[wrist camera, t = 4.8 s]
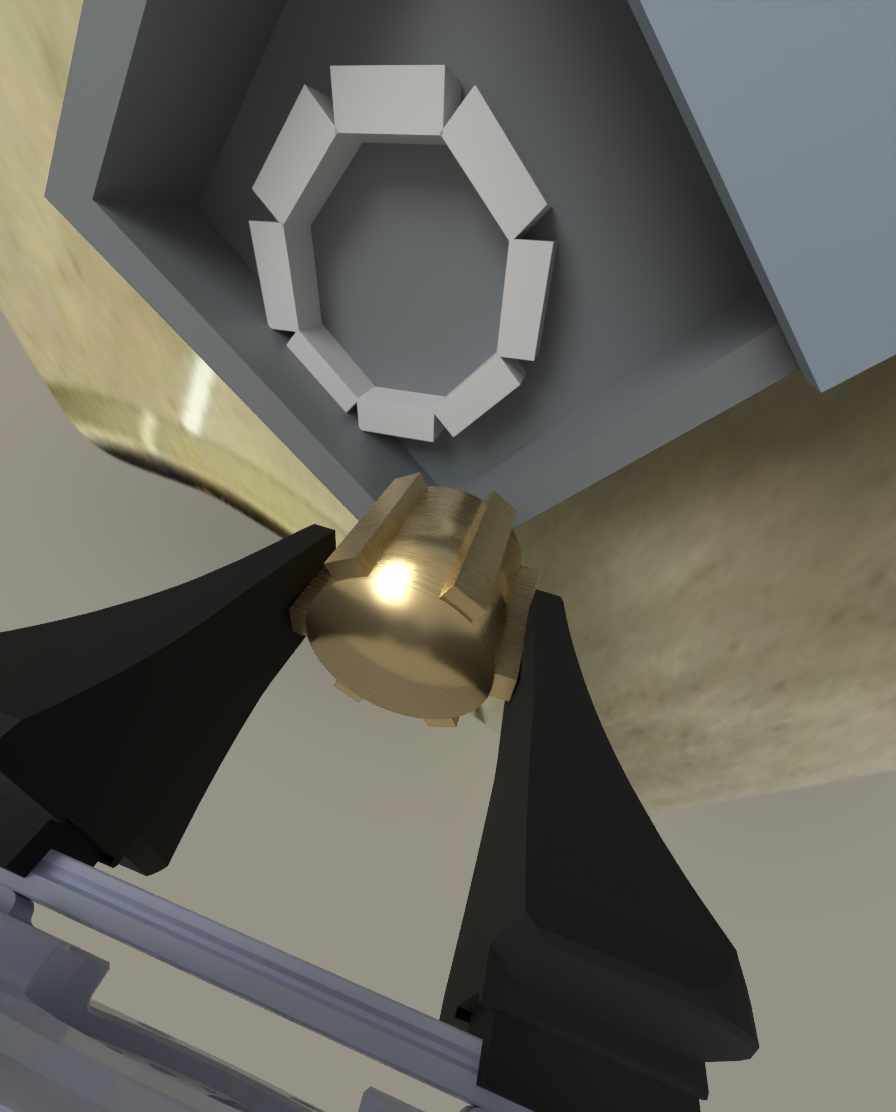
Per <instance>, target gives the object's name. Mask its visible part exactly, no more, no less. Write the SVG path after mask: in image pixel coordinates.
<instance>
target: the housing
mask: <svg viewBox="0 0 896 1112" xmlns="http://www.w3.org/2000/svg"><path fill="white" fill-rule="evenodd" d="M45 197H46V198H47V200H48V201H49V202H50V203H51V204H52V205H53V206H54V207H55V208H56V209H57V210H58V211H59V212H60V213H61V214H62V215H63V216H64V217H65V218H66V219H67V220H68V221H69V222H70V223H71V224H72V225H73V226H74V227H75V228H76V229H77V230H78V232H79V233H80V234H81V235H82V236H83V237H84V238H85V239H86V240H87V241H88V242H89V243H90V244H91V245H92V246H93V247H94V248H95V249H96V250H97V251H98V252H99V253H100V254H101V255H102V256H103V257H104V258H105V259H106V260H107V261H108V262H109V263H110V265H111V266H112V267H113V268H114V269H115V270H116V271H117V272H118V273H119V274H120V275H121V276H122V277H123V278H124V279H125V280H126V281H127V282H128V283H129V284H130V285H131V286H132V287H133V288H134V289H135V290H136V291H137V292H138V293H139V294H140V295H141V297H142V298H143V299H144V300H145V301H146V302H147V303H148V304H149V305H150V306H151V307H152V308H153V309H154V310H155V311H156V312H157V313H158V314H159V315H160V316H161V317H162V318H163V319H164V320H165V321H166V322H167V323H168V324H169V325H170V326H171V327H172V329H173V330H174V331H175V332H176V333H177V334H178V335H179V336H180V337H181V338H182V339H183V340H184V341H185V342H186V343H187V344H188V345H189V346H190V347H191V348H192V349H193V350H194V351H195V352H196V353H197V354H198V355H199V356H200V357H201V358H202V359H203V360H204V362H205V363H206V364H207V365H208V366H209V367H210V368H211V369H212V370H213V371H214V372H215V373H216V374H217V375H218V376H219V377H220V378H221V379H222V380H223V381H224V382H225V383H226V384H227V385H228V386H229V387H230V388H231V389H232V390H233V391H234V392H235V394H236V395H237V396H238V397H239V398H240V399H241V400H242V401H243V402H244V403H245V404H246V405H247V406H248V407H249V408H250V409H251V410H252V411H253V412H254V413H255V414H256V415H257V416H258V417H259V418H260V419H261V420H262V421H263V422H264V423H265V424H266V425H267V427H268V428H269V429H270V430H271V431H272V432H273V433H274V434H275V435H276V436H277V437H278V438H279V439H280V440H281V441H282V442H283V443H284V444H285V445H286V446H287V447H288V448H289V449H290V450H291V451H292V452H293V453H294V454H295V455H296V456H297V457H298V459H299V460H300V461H301V462H302V463H303V464H304V465H305V466H306V467H307V468H308V469H309V470H310V471H311V472H312V473H313V474H314V475H315V476H316V477H317V478H318V479H319V480H320V481H321V482H322V483H323V484H324V485H325V486H326V487H327V488H328V489H329V491H330V492H331V493H332V494H333V495H334V496H335V497H336V498H337V499H338V500H339V501H340V502H341V503H342V504H343V505H344V506H345V507H346V508H347V509H348V510H349V511H350V512H351V513H352V514H353V515H354V516H355V517H356V518H357V519H358V520H359V521H360V520H361V518H362V517H363V516H364V515H365V514H366V513H367V511H368V510H369V509H370V508H371V507H372V505H373V504H374V503H375V502H376V501H377V500H378V498H379V497H380V496H381V495H382V494H383V492H384V491H385V490H386V489H387V488H388V486H389V485H390V484H391V483H392V482H393V481H394V479H396V478H400V477H404V476H407V475H411V474H414V473H418V472H421V474H422V476H423V478H424V481H425V483H426V485H427V487H432V486H438V487H448V488H453V489H457V490H461V491H464V492H467V493H469V494H471V495H473V496H476V497H478V498H479V499H481V500H484V499H485V498H486V497H487V496H488V495H489V494H490V493H491V492H492V491H495V492H496V493H498V494H499V495H500V496H501V497H502V498H503V499H504V500H506V501H507V502H508V503H509V504H510V505H511V506H513V507H514V508H515V509H516V510H517V512H516V516H515V519H514V522H513V525H512V529H513V528H515V527H517V526H519V525H521V524H522V523H524V522H526V521H528V520H530V519H531V518H533V517H535V516H537V515H539V514H540V513H542V512H544V511H546V510H548V509H549V508H551V507H553V506H555V505H557V504H558V503H560V502H562V501H564V500H566V499H567V498H569V497H571V496H573V495H575V494H576V493H578V492H580V491H582V490H584V489H585V488H587V487H589V486H591V485H593V484H594V483H596V482H598V481H600V480H602V479H603V478H605V477H607V476H609V475H611V474H612V473H614V472H616V471H618V470H619V469H621V468H623V467H625V466H627V465H628V464H630V463H632V462H634V461H636V460H637V459H639V458H641V457H643V456H645V455H646V454H648V453H650V452H652V451H654V450H655V449H657V448H659V447H661V446H663V445H664V444H666V443H668V442H670V441H672V440H673V439H675V438H677V437H679V436H681V435H682V434H684V433H686V432H688V431H690V430H691V429H693V428H695V427H697V426H699V425H700V424H702V423H704V422H706V421H708V420H709V419H711V418H713V417H715V416H717V415H718V414H720V413H722V412H724V411H725V410H727V409H729V408H731V407H733V406H734V405H736V404H738V403H740V402H742V401H743V400H745V399H747V398H749V397H751V396H752V395H754V394H756V393H758V392H760V391H761V390H763V389H765V388H767V387H769V386H770V385H772V384H774V383H776V382H778V381H779V380H781V379H783V378H785V377H787V376H788V375H790V374H792V373H794V372H796V371H797V370H799V369H800V367H799V365H798V363H797V361H796V358H795V356H794V354H793V352H792V350H791V348H790V346H789V344H788V341H787V339H786V337H785V335H784V333H783V331H782V329H781V327H780V324H779V322H778V320H777V318H776V316H775V314H774V312H773V310H772V307H771V305H770V303H769V301H768V299H767V297H766V295H765V292H764V290H763V288H762V286H761V284H760V282H759V280H758V278H757V275H756V273H755V271H754V269H753V267H752V265H751V263H750V261H749V258H748V256H747V254H746V252H745V250H744V248H743V246H742V244H741V241H740V239H739V237H738V235H737V233H736V231H735V229H734V226H733V224H732V222H731V220H730V218H729V216H728V214H727V212H726V209H725V207H724V205H723V203H722V201H721V199H720V197H719V195H718V192H717V190H716V188H715V186H714V184H713V182H712V180H711V178H710V175H709V173H708V171H707V169H706V167H705V165H704V163H703V160H702V158H701V156H700V154H699V152H698V150H697V148H696V146H695V143H694V141H693V139H692V137H691V135H690V133H689V131H688V129H687V126H686V124H685V122H684V120H683V118H682V116H681V114H680V112H679V109H678V107H677V105H676V103H675V101H674V99H673V97H672V94H671V92H670V90H669V88H668V86H667V84H666V82H665V80H664V77H663V75H662V73H661V71H660V69H659V67H658V65H657V63H656V60H655V58H654V56H653V54H652V52H651V50H650V48H649V46H648V43H647V41H646V39H645V37H644V35H643V33H642V31H641V28H640V26H639V24H638V22H637V20H636V18H635V16H634V14H633V11H632V9H631V7H630V5H629V3H628V1H627V0H84V1H83V6H82V11H81V16H80V21H79V26H78V31H77V36H76V41H75V46H74V51H73V56H72V61H71V66H70V71H69V76H68V81H67V86H66V91H65V96H64V101H63V106H62V111H61V116H60V121H59V126H58V131H57V136H56V141H55V146H54V151H53V156H52V161H51V166H50V171H49V176H48V181H47V186H46V191H45Z"/></svg>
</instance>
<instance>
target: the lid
mask: <svg viewBox="0 0 896 1112" xmlns="http://www.w3.org/2000/svg"><path fill="white" fill-rule="evenodd" d="M627 1H628V3H629V5H630V7H631V9H632V11H633V14H634V16H635V18H636V20H637V22H638V24H639V26H640V28H641V31H642V33H643V35H644V37H645V39H646V41H647V43H648V46H649V48H650V50H651V52H652V54H653V56H654V58H655V60H656V63H657V65H658V67H659V69H660V71H661V73H662V75H663V77H664V80H665V82H666V84H667V86H668V88H669V90H670V92H671V94H672V97H673V99H674V101H675V103H676V105H677V107H678V109H679V112H680V114H681V116H682V118H683V120H684V122H685V124H686V126H687V129H688V131H689V133H690V135H691V137H692V139H693V141H694V143H695V146H696V148H697V150H698V152H699V154H700V156H701V158H702V160H703V163H704V165H705V167H706V169H707V171H708V173H709V175H710V178H711V180H712V182H713V184H714V186H715V188H716V190H717V192H718V195H719V197H720V199H721V201H722V203H723V205H724V207H725V209H726V212H727V214H728V216H729V218H730V220H731V222H732V224H733V226H734V229H735V231H736V233H737V235H738V237H739V239H740V241H741V244H742V246H743V248H744V250H745V252H746V254H747V256H748V258H749V261H750V263H751V265H752V267H753V269H754V271H755V273H756V275H757V278H758V280H759V282H760V284H761V286H762V288H763V290H764V292H765V295H766V297H767V299H768V301H769V303H770V305H771V307H772V310H773V312H774V314H775V316H776V318H777V320H778V322H779V324H780V327H781V329H782V331H783V333H784V335H785V337H786V339H787V341H788V344H789V346H790V348H791V350H792V352H793V354H794V356H795V358H796V361H797V363H798V365H799V367H800V369H801V371H802V373H803V375H804V378H805V380H806V382H807V383H808V384H809V385H811V386H812V387H814V388H815V389H816V390H818V391H819V392H820V393H822V392H824V391H826V390H828V389H830V388H832V387H834V386H836V385H838V384H840V383H842V382H843V381H845V380H847V379H849V378H851V377H853V376H855V375H857V374H859V373H861V372H863V371H865V370H867V369H869V368H871V367H872V366H874V365H876V364H878V363H880V362H882V361H884V360H886V359H888V358H890V357H892V356H894V355H896V0H627Z"/></svg>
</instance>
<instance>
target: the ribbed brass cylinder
mask: <svg viewBox="0 0 896 1112" xmlns="http://www.w3.org/2000/svg"><path fill="white" fill-rule="evenodd" d="M516 512H517V510H516V509H515V508H514V507H513V506H511V505H510V504H509V503H508V502H507V501H506V500H504V499H503V498H502V497H501V496H500V495H499V494H498V493H496V492H495V491H492V492H491V493H490V494H489V495H488V496H487V497H486V498H485V499H484V500H481V499H479V498H478V497H476V496H473V495H471V494H469V493H467V492H464V491H461V490H457V489H453V488H448V487H438V486H432V487H427V485H426V483H425V481H424V478H423V476H422V474H421V472H418V473H414V474H411V475H407V476H404V477H400V478H396V479H394V481H393V482H392V483H391V484H390V485H389V486H388V488H387V489H386V490H385V491H384V492H383V494H382V495H381V496H380V497H379V498H378V500H377V501H376V502H375V503H374V504H373V505H372V507H371V508H370V509H369V510H368V511H367V513H366V514H365V515H364V516H363V517H362V518H361V520H360V521H359V522H358V523H357V524H356V526H355V527H354V528H353V529H352V530H351V532H350V533H349V534H348V535H347V536H346V537H345V539H344V540H343V541H342V542H341V543H340V545H339V546H338V547H337V548H336V549H335V551H334V552H333V553H332V554H331V555H330V556H329V558H328V559H327V560H326V561H325V562H324V565H325V566H324V567H323V569H322V570H321V571H320V572H319V573H318V575H317V576H316V577H315V578H314V579H313V580H312V581H311V583H310V584H309V585H308V586H307V587H306V589H305V590H304V591H303V592H302V593H301V595H300V596H299V597H298V598H297V599H296V601H295V602H294V603H293V604H292V605H291V607H290V608H289V612H290V619H291V625H292V631H293V632H295V633H298V634H301V635H304V636H307V637H308V639H309V641H310V644H311V647H312V649H313V650H314V653H315V654H316V656H317V657H318V659H319V660H320V662H321V663H322V664H323V665H324V667H325V668H326V669H327V670H328V671H329V672H330V673H331V674H332V675H333V676H334V677H335V678H336V679H337V681H336V682H335V684H334V686H335V687H336V688H338V689H339V690H341V691H342V692H344V693H345V694H347V695H348V696H349V697H351V698H352V699H354V700H355V701H357V702H360V701H361V700H362V699H365V700H367V701H369V702H371V703H373V704H375V705H377V706H379V707H381V708H384V709H387V710H389V711H392V712H395V713H399V714H402V715H406V716H410V717H416V718H423V719H424V720H425V722H426V723H427V725H428V726H430V727H431V726H432V727H456V726H457V723H458V719H459V716H462V715H464V714H467V713H469V712H471V711H473V710H475V709H476V708H478V707H479V706H480V705H481V704H482V703H483V702H484V701H485V700H486V699H487V697H488V696H489V695H490V696H493V697H496V698H499V699H502V700H505V701H508V702H509V700H510V698H511V695H512V692H513V690H514V687H515V685H516V682H517V678H518V673H519V667H520V662H521V657H522V652H523V640H524V633H525V628H526V622H527V617H528V612H529V607H530V605H531V602H532V599H533V593H534V588H535V583H536V578H537V572H538V570H535V569H531V568H527V567H524V566H521V552H520V547H519V544H518V541H517V538H516V536H515V534H514V532H513V530H512V525H513V522H514V519H515V516H516Z"/></svg>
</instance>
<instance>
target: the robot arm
mask: <svg viewBox="0 0 896 1112" xmlns="http://www.w3.org/2000/svg"><path fill="white" fill-rule="evenodd" d="M335 549H336V539H335V530H333V529H329V528H326V527H322V526H319V525H316V524H313V525H311V526H309V527H306V528H304V529H302V530H300V531H298V532H296V533H294V534H292V535H290V536H288V537H286V538H284V539H282V540H280V541H278V542H276V543H274V544H272V545H270V546H268V547H266V548H263V549H261V550H259V551H257V552H255V553H253V554H251V555H249V556H247V557H245V558H243V559H240V560H238V561H236V562H234V563H231V564H229V565H227V566H224V567H222V568H220V569H217V570H215V571H213V572H211V573H208V574H206V575H204V576H201V577H199V578H196V579H194V580H191V581H189V582H186V583H183V584H181V585H178V586H175V587H173V588H170V589H167V590H164V591H161V592H158V593H155V594H152V595H149V596H146V597H143V598H140V599H137V600H133V601H129V602H126V603H123V604H119V605H116V606H112V607H109V608H105V609H102V610H98V611H95V612H91V613H87V614H83V615H79V616H75V617H71V618H67V619H63V620H58V621H54V622H50V623H45V624H40V625H36V626H31V627H26V628H21V629H17V630H11V631H6V632H0V1112H325V1111H323V1110H321V1109H319V1108H317V1107H315V1106H313V1105H311V1104H309V1103H307V1102H305V1101H304V1100H302V1099H299V1098H298V1097H296V1096H294V1095H292V1094H290V1093H288V1092H286V1091H284V1090H282V1089H280V1088H278V1087H276V1086H274V1085H272V1084H271V1083H269V1082H266V1081H265V1080H262V1079H261V1078H258V1077H257V1076H254V1075H252V1074H251V1073H249V1072H246V1071H244V1070H242V1069H240V1068H238V1067H236V1066H234V1065H232V1064H230V1063H228V1062H226V1061H224V1060H222V1059H220V1058H217V1057H215V1056H213V1055H211V1054H209V1053H207V1052H205V1051H203V1050H201V1049H198V1048H196V1047H194V1046H192V1045H190V1044H188V1043H186V1042H184V1041H181V1040H179V1039H177V1038H175V1037H173V1036H170V1035H168V1034H166V1033H164V1032H162V1031H160V1030H158V1029H155V1028H153V1027H151V1026H149V1025H147V1024H145V1023H142V1022H140V1021H138V1020H136V1019H134V1018H132V1017H129V1016H127V1015H125V1014H123V1013H121V1012H119V1011H116V1010H114V1009H112V1008H110V1007H108V1006H105V1005H103V1004H101V1003H99V1002H97V1001H95V1000H93V999H91V997H92V995H93V993H94V992H95V990H96V988H97V987H98V985H99V984H100V983H101V981H102V979H103V978H104V977H105V975H106V973H107V972H108V970H109V969H110V965H109V964H110V963H109V962H107V961H105V960H103V959H101V958H99V957H97V956H95V955H93V954H91V953H89V952H87V951H85V950H83V949H80V948H78V947H76V946H74V945H72V944H70V943H68V942H65V941H63V940H61V939H59V938H57V937H55V936H53V935H51V934H48V933H46V932H44V931H42V930H40V929H38V928H35V927H34V926H33V925H32V923H31V917H32V914H33V912H34V903H33V902H32V901H34V902H36V903H38V904H40V905H42V906H44V907H47V908H49V909H51V910H53V911H56V912H57V913H59V914H62V915H64V916H66V917H68V918H70V919H72V920H75V921H77V922H79V923H81V924H83V925H85V926H88V927H90V928H92V929H94V930H96V931H98V932H100V933H103V934H105V935H107V936H109V937H111V938H113V939H115V940H118V941H120V942H122V943H124V944H126V945H128V946H130V947H133V948H135V949H137V950H139V951H141V952H144V953H146V954H148V955H150V956H152V957H154V958H156V959H158V960H161V961H163V962H165V963H167V964H169V965H171V966H174V967H176V968H178V969H180V970H182V971H184V972H187V973H189V974H191V975H193V976H195V977H197V978H199V979H202V980H204V981H206V982H208V983H210V984H212V985H214V986H217V987H219V988H221V989H223V990H225V991H227V992H229V993H232V994H234V995H236V996H238V997H240V998H242V999H245V1000H247V1001H249V1002H251V1003H253V1004H255V1005H258V1006H260V1007H262V1008H264V1009H266V1010H268V1011H270V1012H273V1013H275V1014H277V1015H279V1016H281V1017H283V1018H286V1019H288V1020H290V1021H292V1022H294V1023H296V1024H298V1025H300V1026H303V1027H305V1028H307V1029H309V1030H311V1031H313V1032H315V1033H318V1034H320V1035H322V1036H324V1037H326V1038H328V1039H331V1040H333V1041H335V1042H337V1043H339V1044H341V1045H343V1046H346V1047H348V1048H350V1049H352V1050H354V1051H356V1052H359V1053H361V1054H363V1055H365V1056H367V1057H369V1058H371V1059H374V1060H376V1061H378V1062H380V1063H382V1064H384V1065H387V1066H389V1067H391V1068H393V1069H395V1070H397V1071H399V1072H402V1073H404V1074H406V1075H408V1076H410V1077H412V1078H414V1079H417V1080H419V1081H421V1082H423V1083H426V1084H427V1085H430V1086H432V1087H434V1088H436V1089H438V1090H440V1091H443V1092H445V1093H447V1094H449V1095H451V1096H453V1097H455V1098H457V1099H460V1100H462V1101H464V1102H466V1103H468V1104H470V1105H473V1106H466V1107H464V1108H463V1109H461V1110H460V1112H700V1104H699V1099H701V1100H707V1099H708V1094H709V1092H708V1083H707V1075H706V1067H705V1062H718V1061H741V1060H746V1059H751V1057H752V1056H753V1055H754V1054H755V1052H756V1051H757V1050H758V1049H759V1043H758V1038H757V1033H756V1028H755V1023H754V1018H753V1013H752V1007H751V1003H750V999H749V994H748V990H747V986H746V983H745V979H744V976H743V973H742V969H741V966H740V962H739V959H738V955H737V951H736V949H735V948H734V946H733V945H732V943H731V942H730V941H729V939H728V938H727V936H726V935H725V933H724V932H723V931H722V929H721V928H720V926H719V925H718V923H717V922H716V921H715V919H714V918H713V916H712V915H711V913H710V912H709V910H708V909H707V908H706V906H705V905H704V903H703V902H702V900H701V899H700V897H699V896H698V895H697V893H696V892H695V890H694V889H693V887H692V886H691V884H690V883H689V881H688V880H687V878H686V877H685V875H684V873H683V872H682V870H681V869H680V867H679V865H678V864H677V862H676V861H675V859H674V858H673V856H672V854H671V853H670V851H669V850H668V848H667V847H666V845H665V843H664V842H663V840H662V839H661V837H660V835H659V834H658V832H657V830H656V828H655V826H654V825H653V823H652V821H651V820H650V818H649V816H648V814H647V812H646V811H645V809H644V807H643V805H642V804H641V802H640V800H639V798H638V797H637V795H636V793H635V791H634V790H633V788H632V786H631V784H630V783H629V781H628V779H627V777H626V775H625V773H624V771H623V769H622V767H621V765H620V763H619V761H618V759H617V757H616V755H615V753H614V751H613V749H612V747H611V744H610V742H609V740H608V738H607V736H606V734H605V732H604V729H603V727H602V725H601V722H600V720H599V718H598V715H597V713H596V710H595V708H594V705H593V703H592V700H591V697H590V695H589V692H588V690H587V687H586V684H585V681H584V678H583V675H582V672H581V669H580V666H579V663H578V660H577V657H576V654H575V650H574V647H573V643H572V639H571V635H570V632H569V628H568V623H567V619H566V614H565V609H564V602H563V600H562V598H561V597H560V596H556V595H553V594H550V593H546V592H543V591H539V590H536V591H535V594H534V597H533V599H532V602H531V605H530V607H529V612H528V617H527V622H526V628H525V633H524V640H523V652H522V657H521V662H520V667H519V673H518V678H517V682H516V685H515V687H514V690H513V692H512V695H511V698H510V700H509V702H508V701H505V704H504V712H503V720H502V728H501V736H500V745H499V753H498V761H497V767H496V773H495V779H494V784H493V788H492V793H491V798H490V802H489V807H488V811H487V816H486V821H485V825H484V830H483V835H482V838H481V843H480V848H479V852H478V856H477V861H476V865H475V869H474V874H473V878H472V882H471V886H470V891H469V895H468V900H467V904H466V908H465V913H464V917H463V921H462V925H461V929H460V933H459V937H458V941H457V946H456V950H455V954H454V958H453V962H452V966H451V970H450V975H449V979H448V983H447V987H446V991H445V995H444V1000H443V1005H442V1010H441V1015H440V1019H439V1020H437V1019H435V1018H433V1017H431V1016H428V1015H426V1014H424V1013H421V1012H419V1011H417V1010H415V1009H412V1008H410V1007H408V1006H406V1005H403V1004H401V1003H399V1002H396V1001H394V1000H392V999H390V998H388V997H385V996H383V995H381V994H379V993H376V992H374V991H372V990H369V989H367V988H365V987H362V986H360V985H358V984H356V983H354V982H351V981H349V980H347V979H344V978H342V977H340V976H338V975H336V974H333V973H331V972H329V971H326V970H324V969H322V968H320V967H317V966H315V965H313V964H310V963H308V962H306V961H304V960H302V959H299V958H297V957H295V956H292V955H290V954H288V953H286V952H283V951H281V950H279V949H277V948H275V947H272V946H270V945H268V944H266V943H263V942H261V941H259V940H256V939H254V938H252V937H250V936H247V935H245V934H243V933H241V932H238V931H236V930H234V929H232V928H229V927H227V926H225V925H223V924H220V923H218V922H216V921H213V920H211V919H209V918H207V917H205V916H202V915H200V914H198V913H195V912H193V911H191V910H189V909H186V908H184V907H182V906H180V905H177V904H175V903H173V902H171V901H168V900H166V899H164V898H162V897H159V896H157V895H155V894H153V893H150V892H148V891H146V890H144V889H141V888H139V887H137V886H134V885H132V884H130V883H128V882H125V881H123V880H121V879H118V878H116V877H114V876H111V875H110V874H107V873H105V872H103V871H100V870H98V869H96V868H94V866H95V864H96V863H97V862H101V863H103V864H105V865H107V866H110V867H112V868H114V867H115V866H117V865H118V864H120V865H122V866H124V867H127V868H129V869H131V870H134V871H136V872H139V873H141V874H143V875H145V876H149V875H152V874H154V873H156V872H159V871H161V870H162V869H164V868H165V867H167V866H168V864H169V863H170V860H171V858H172V856H173V854H174V852H175V850H176V848H177V846H178V844H179V842H180V840H181V838H182V836H183V834H184V832H185V830H186V828H187V826H188V825H189V823H190V820H191V819H192V817H193V815H194V813H195V811H196V809H197V807H198V805H199V803H200V801H201V799H202V798H203V796H204V794H205V792H206V790H207V788H208V787H209V784H210V783H211V781H212V779H213V777H214V775H215V774H216V772H217V770H218V768H219V766H220V764H221V763H222V761H223V759H224V757H225V756H226V754H227V752H228V751H229V749H230V747H231V745H232V744H233V742H234V740H235V739H236V737H237V735H238V733H239V731H240V730H241V728H242V727H243V725H244V723H245V722H246V720H247V718H248V717H249V715H250V714H251V712H252V710H253V709H254V707H255V705H256V704H257V702H258V700H259V699H260V697H261V696H262V694H263V693H264V691H265V690H266V689H267V687H268V686H269V684H270V683H271V681H272V680H273V679H274V678H275V676H276V675H277V674H278V672H279V671H280V670H281V668H282V667H283V666H284V664H285V663H286V662H287V660H288V659H289V658H290V656H291V655H292V654H293V653H294V651H295V650H296V649H297V647H298V646H299V645H300V643H301V642H302V641H303V639H304V638H305V637H306V636H304V635H301V634H298V633H295V632H293V631H292V625H291V619H290V612H289V608H290V607H291V605H292V604H293V603H294V602H295V601H296V599H297V598H298V597H299V596H300V595H301V593H302V592H303V591H304V590H305V589H306V587H307V586H308V585H309V584H310V583H311V581H312V580H313V579H314V578H315V577H316V576H317V575H318V573H319V572H320V571H321V570H322V569H323V567H324V566H325V565H324V562H325V561H326V560H327V559H328V558H329V556H330V555H331V554H332V553H333V552H334V551H335ZM31 900H32V901H31ZM358 1112H424V1111H422V1110H420V1109H418V1108H416V1107H413V1106H411V1105H409V1104H407V1103H405V1102H403V1101H401V1100H398V1099H397V1098H394V1097H392V1096H390V1095H388V1094H386V1093H384V1092H382V1091H379V1090H377V1089H375V1088H373V1087H369V1088H368V1089H367V1090H365V1092H364V1093H363V1096H362V1100H361V1104H360V1108H359V1111H358Z"/></svg>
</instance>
